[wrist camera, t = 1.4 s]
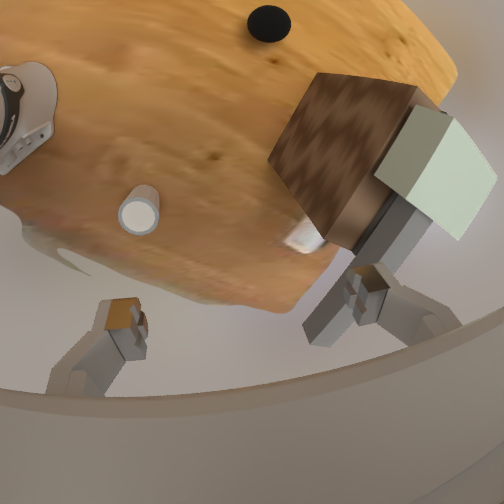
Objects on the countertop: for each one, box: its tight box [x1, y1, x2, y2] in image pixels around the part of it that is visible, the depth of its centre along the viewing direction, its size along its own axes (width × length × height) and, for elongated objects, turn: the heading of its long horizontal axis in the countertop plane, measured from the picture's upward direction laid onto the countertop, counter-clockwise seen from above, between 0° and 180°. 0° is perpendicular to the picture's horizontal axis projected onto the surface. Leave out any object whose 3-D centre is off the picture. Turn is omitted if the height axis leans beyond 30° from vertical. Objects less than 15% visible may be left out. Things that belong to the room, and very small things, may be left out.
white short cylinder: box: [118, 185, 160, 235], centre depth 47 cm, size 7×7×7 cm
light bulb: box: [247, 5, 291, 43], centre depth 32 cm, size 6×6×10 cm
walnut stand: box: [268, 73, 448, 256], centre depth 37 cm, size 18×10×27 cm, turn 153°
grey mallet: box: [302, 105, 498, 347], centre depth 26 cm, size 26×10×5 cm, turn 153°
